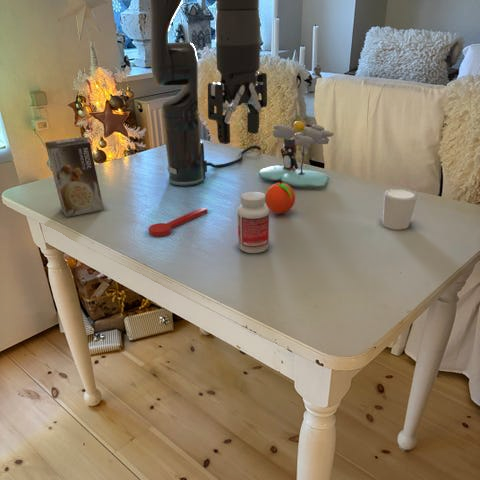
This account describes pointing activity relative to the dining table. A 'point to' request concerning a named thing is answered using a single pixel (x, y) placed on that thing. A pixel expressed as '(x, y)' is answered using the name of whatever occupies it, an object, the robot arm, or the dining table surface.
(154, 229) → the spoon
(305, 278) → the dining table surface
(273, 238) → the dining table surface
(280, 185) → the clementine
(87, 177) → the coffee box
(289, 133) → the penguin figurine
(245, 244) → the pill bottle
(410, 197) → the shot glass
